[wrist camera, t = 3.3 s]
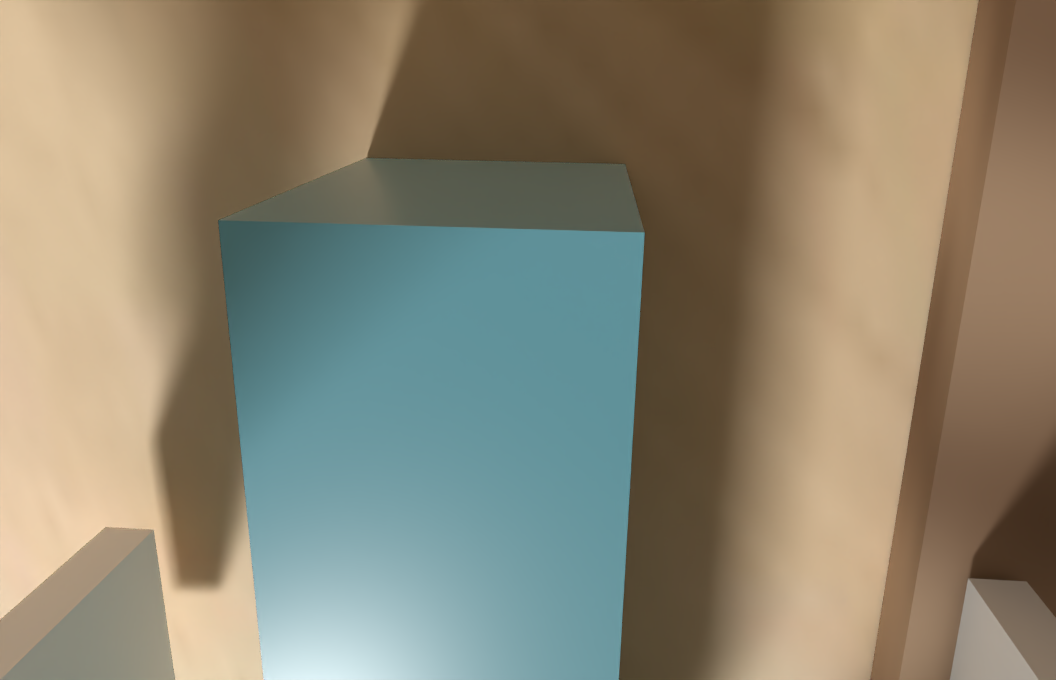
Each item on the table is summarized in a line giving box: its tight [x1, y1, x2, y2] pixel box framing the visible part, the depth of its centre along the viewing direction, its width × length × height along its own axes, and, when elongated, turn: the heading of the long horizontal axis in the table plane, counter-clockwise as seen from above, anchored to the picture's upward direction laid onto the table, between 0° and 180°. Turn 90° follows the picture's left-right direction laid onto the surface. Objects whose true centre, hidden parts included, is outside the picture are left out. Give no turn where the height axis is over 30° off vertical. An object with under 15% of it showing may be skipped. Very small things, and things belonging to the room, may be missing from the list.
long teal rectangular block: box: [218, 158, 645, 680], centre depth 11 cm, size 13×4×5 cm, turn 0°
